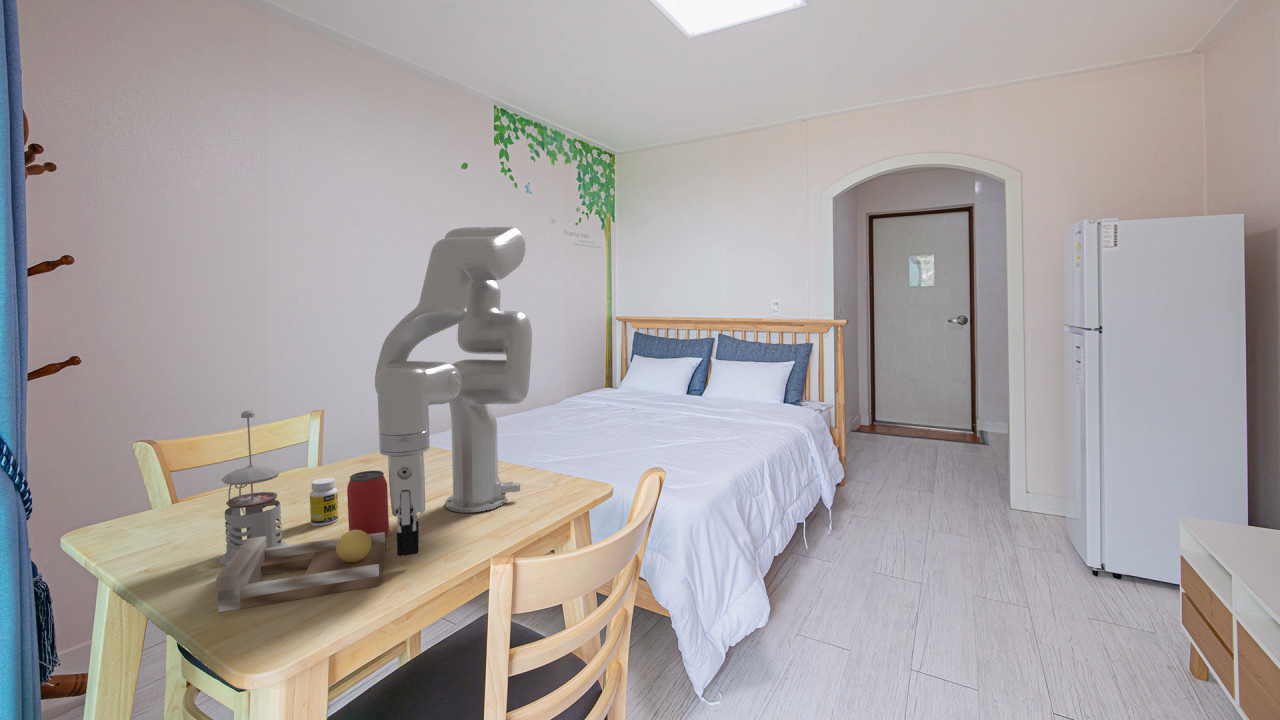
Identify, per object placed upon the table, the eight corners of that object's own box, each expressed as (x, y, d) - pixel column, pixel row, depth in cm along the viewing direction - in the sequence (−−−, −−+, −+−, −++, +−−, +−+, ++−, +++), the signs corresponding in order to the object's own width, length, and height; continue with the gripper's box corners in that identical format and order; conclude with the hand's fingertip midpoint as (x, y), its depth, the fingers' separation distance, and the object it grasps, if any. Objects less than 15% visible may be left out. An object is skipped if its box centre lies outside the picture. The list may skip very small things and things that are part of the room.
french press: (235, 571, 86) (226, 417, 84) (204, 554, 92) (194, 410, 90) (300, 549, 94) (293, 408, 92) (267, 535, 100) (260, 403, 98)
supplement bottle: (325, 527, 104) (323, 485, 103) (305, 525, 104) (303, 483, 104) (344, 518, 108) (342, 477, 108) (324, 516, 109) (322, 476, 108)
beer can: (358, 531, 102) (356, 470, 101) (394, 530, 102) (392, 469, 101) (342, 546, 95) (339, 480, 94) (380, 545, 96) (378, 479, 95)
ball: (373, 552, 89) (372, 523, 89) (370, 565, 85) (369, 534, 84) (339, 557, 87) (337, 527, 87) (334, 570, 83) (333, 539, 82)
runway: (385, 548, 94) (384, 521, 94) (379, 585, 81) (377, 553, 81) (249, 568, 87) (247, 538, 86) (218, 612, 74) (216, 577, 73)
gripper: (429, 451, 81) (433, 567, 83) (428, 430, 96) (431, 528, 98) (375, 455, 79) (379, 576, 80) (383, 433, 94) (386, 534, 95)
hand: (408, 548), depth 89 cm, fingers open, 2 cm apart
